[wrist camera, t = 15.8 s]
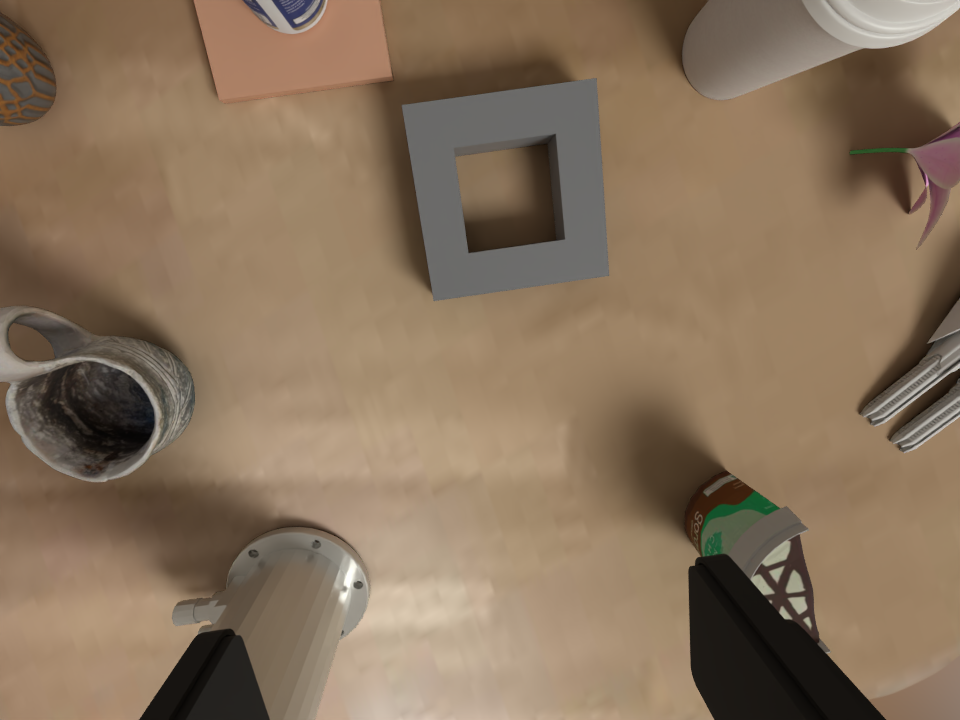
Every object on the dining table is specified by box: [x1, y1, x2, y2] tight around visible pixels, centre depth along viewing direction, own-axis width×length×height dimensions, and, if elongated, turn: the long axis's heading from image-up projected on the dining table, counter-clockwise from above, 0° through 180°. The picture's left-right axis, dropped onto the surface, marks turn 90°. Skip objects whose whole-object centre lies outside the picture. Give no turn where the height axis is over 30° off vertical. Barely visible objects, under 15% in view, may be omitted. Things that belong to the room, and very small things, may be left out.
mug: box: [0, 306, 195, 482], centre depth 31 cm, size 10×12×10 cm
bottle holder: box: [402, 78, 609, 301], centre depth 33 cm, size 13×13×3 cm
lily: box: [850, 122, 960, 250], centre depth 32 cm, size 11×11×9 cm
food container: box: [684, 471, 831, 653], centre depth 37 cm, size 12×6×10 cm, turn 19°
